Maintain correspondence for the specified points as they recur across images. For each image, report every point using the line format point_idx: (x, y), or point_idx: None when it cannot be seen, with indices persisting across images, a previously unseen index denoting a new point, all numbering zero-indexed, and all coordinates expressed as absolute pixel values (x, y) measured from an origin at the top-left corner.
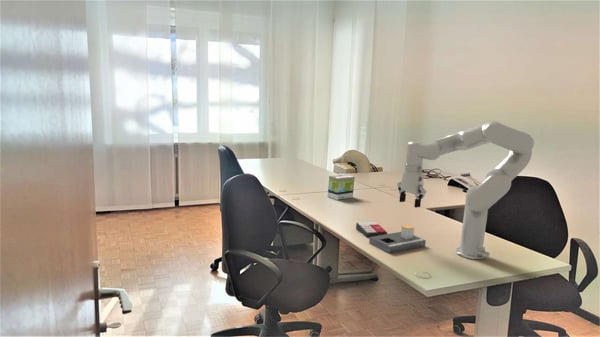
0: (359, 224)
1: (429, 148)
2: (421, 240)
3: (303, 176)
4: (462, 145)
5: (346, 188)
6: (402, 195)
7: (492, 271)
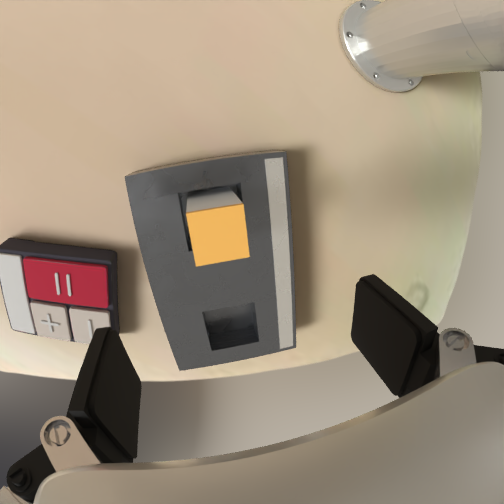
0: (30, 333)
1: None
2: (283, 177)
3: None
4: None
5: None
6: (126, 435)
7: (466, 116)
